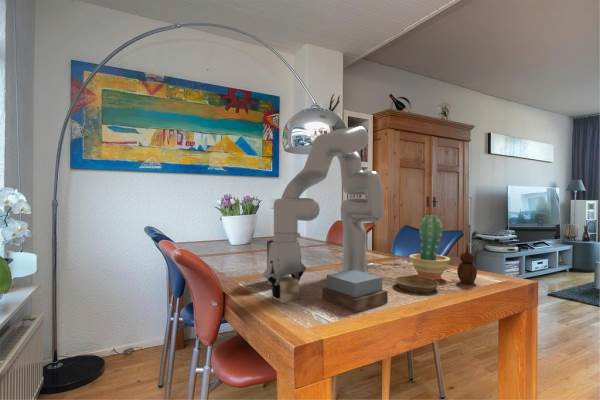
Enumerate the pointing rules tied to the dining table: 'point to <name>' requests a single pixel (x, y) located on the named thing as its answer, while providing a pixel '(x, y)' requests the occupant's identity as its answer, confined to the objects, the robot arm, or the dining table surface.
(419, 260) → the potted cactus
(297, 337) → the dining table surface
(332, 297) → the tower bottom
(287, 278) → the maple cube
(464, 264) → the wooden figurine
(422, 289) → the plant saucer
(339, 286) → the tower top
